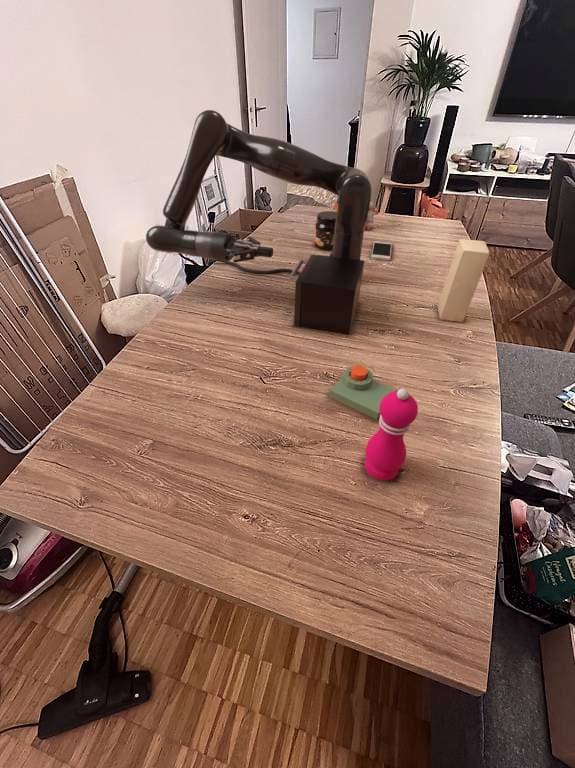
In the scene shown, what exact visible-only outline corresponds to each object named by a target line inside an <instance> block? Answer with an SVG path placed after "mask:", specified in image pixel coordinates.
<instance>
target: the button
mask: <svg viewBox="0 0 575 768" xmlns="http://www.w3.org/2000/svg"><path fill="white" fill-rule="evenodd" d="M352 366H353V367H352ZM352 366H351V367H352V369H351V374H350V376H351V378H352V379H353V380H356V381H363V380H365V379H366V376H367V369H368V368H367V367H365V366H363V365H358V364H357V365H352ZM366 368H367V369H366Z"/></svg>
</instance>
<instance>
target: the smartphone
mask: <svg viewBox="0 0 575 768" xmlns="http://www.w3.org/2000/svg"><path fill="white" fill-rule="evenodd" d="M392 247H393V243H392V242H387V241H376V240H375V241H373V245H372V249H371V254H370V259H373V260H381V261H391V256H392V249H393V248H392Z"/></svg>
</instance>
